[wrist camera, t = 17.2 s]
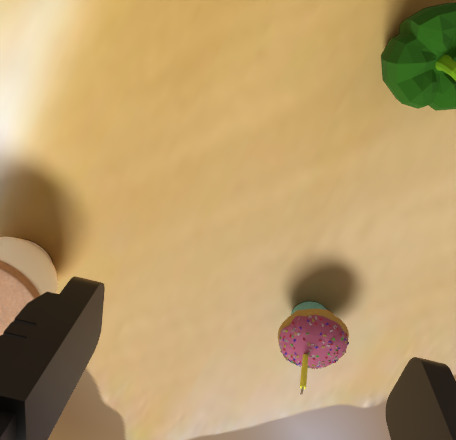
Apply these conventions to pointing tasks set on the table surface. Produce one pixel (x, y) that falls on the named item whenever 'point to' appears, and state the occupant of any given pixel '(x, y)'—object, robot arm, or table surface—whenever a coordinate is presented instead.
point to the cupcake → (312, 338)
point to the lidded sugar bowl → (22, 276)
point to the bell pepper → (424, 59)
